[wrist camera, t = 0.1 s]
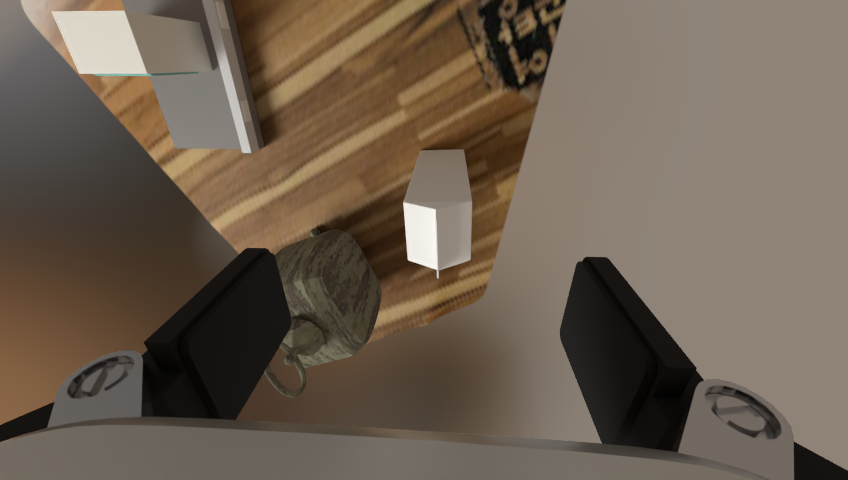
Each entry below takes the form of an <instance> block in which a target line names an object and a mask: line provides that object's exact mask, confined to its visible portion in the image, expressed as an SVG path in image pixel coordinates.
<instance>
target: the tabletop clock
mask: <svg viewBox="0 0 848 480" xmlns="http://www.w3.org/2000/svg"><path fill="white" fill-rule="evenodd" d="M310 236H311V237H310V238H307V239H304V240H302V241H299V242H296V243H293V244H291V245H288V246H286V247H284V248H283V249H281V250H280V251H279V252H278V253H277V254H275V255H274V256H275V258H276V262H277V266H278V269H279V273H280V277H281V281H282V284H283V288H284V292H285V296H286V299H287V303H288V307H289V311H290V314H291V319H292V322H291V327H290V329H289V331H288V333H287V335H286V336H285V338H284V340H283V341H282V343H281V345H280V346H279V347H280V348H281V349H283V351H284V352H285V353H286V354H287V355H286V357H285V359H284V362H285V364H286V365H291V364H293V363H294V364H295V365H296V367H297V369H298V371H299V374H300V377H301V380H302V382H301V387H300V389H298V390H297V391H291V390H289V389H287V388H286V387H285V386H284V385H283V384H282V383H281V382H280V381H279V380H278V379H277V377H276V376H275V374H274V373H273V371H272V370H271V367H270V365H268V366H267V368H266V370H265V371H264V372H265V375H266V376H267V378H268V379H269V381H270V382H271V384H272V385H273V386H274V387H275V388H276V389H277V390H278V391H279V392H280V393H282V394H283V395H284V396H288V397H295V396H298V395H299V394H301V393H302V392H303V390H304V388H305V385H306V376H305V370H304V368H306V367H310V366H314V365H318V364H322V363H326V362H330V361H334V360H338V359H342V358H346V357H350V356H354V355H355V354H356V353H357V352H358V351H359V350H360V349H361V348H362V347H363V346H364V345H365V343H366V342H367V341H368V340H369V338H370V336H371V334H372V331H373V328H374V325H375V322H376V319H377V315H378V311H379V307H380V302H381V288H380V285H379V282H378V280H377V278H376V276H375V274H374V272H373V270H372V268H371V266H370V265H369V263H368V261H367V259H366V257H365V256H364V254H363V251H362V249H361V248H360V247H359V246H358V244H357V242H356V241H355V239H354V238H353V237H352V235H351V234H350V233H349V232H346V231H342V230H338V229H333V230H329V231H327V232H324V233H320V231H319V230H318V229H312V230H311V232H310Z"/></svg>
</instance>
